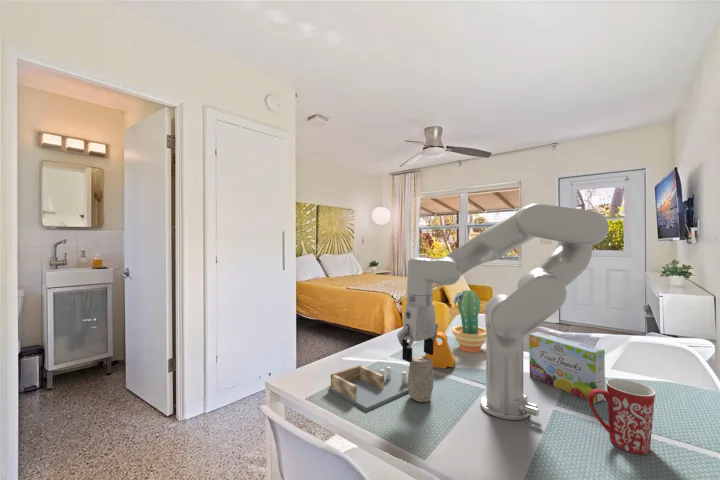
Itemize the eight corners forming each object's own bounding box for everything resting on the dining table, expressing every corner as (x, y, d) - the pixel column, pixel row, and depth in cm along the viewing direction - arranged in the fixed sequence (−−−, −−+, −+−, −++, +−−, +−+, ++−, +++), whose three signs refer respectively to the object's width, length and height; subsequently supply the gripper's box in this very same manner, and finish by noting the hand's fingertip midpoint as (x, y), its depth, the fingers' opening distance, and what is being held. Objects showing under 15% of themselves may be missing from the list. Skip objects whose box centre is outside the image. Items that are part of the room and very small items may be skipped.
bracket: (455, 362, 128) (455, 331, 128) (453, 369, 122) (453, 336, 122) (427, 359, 132) (427, 328, 132) (423, 365, 126) (423, 333, 126)
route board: (422, 386, 108) (422, 370, 108) (366, 411, 93) (366, 393, 92) (383, 369, 122) (383, 355, 122) (328, 389, 106) (328, 373, 106)
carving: (435, 404, 96) (435, 362, 96) (409, 404, 97) (409, 362, 97) (431, 393, 103) (431, 354, 103) (406, 393, 103) (406, 354, 103)
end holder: (383, 388, 104) (383, 375, 104) (353, 400, 97) (353, 386, 97) (359, 376, 113) (359, 364, 113) (330, 387, 105) (330, 374, 105)
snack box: (528, 377, 115) (528, 333, 115) (538, 374, 117) (538, 330, 117) (595, 404, 96) (595, 351, 96) (606, 400, 98) (606, 348, 98)
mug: (645, 437, 80) (645, 381, 80) (664, 461, 71) (664, 398, 71) (583, 427, 84) (582, 373, 84) (594, 449, 76) (594, 389, 76)
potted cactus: (464, 340, 155) (464, 286, 155) (496, 349, 143) (496, 290, 143) (444, 347, 145) (443, 290, 145) (476, 357, 133) (476, 294, 133)
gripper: (409, 305, 91) (408, 368, 91) (447, 298, 102) (446, 354, 103) (389, 300, 97) (388, 359, 97) (427, 294, 108) (426, 347, 108)
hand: (418, 357), depth 100 cm, fingers open, 9 cm apart
